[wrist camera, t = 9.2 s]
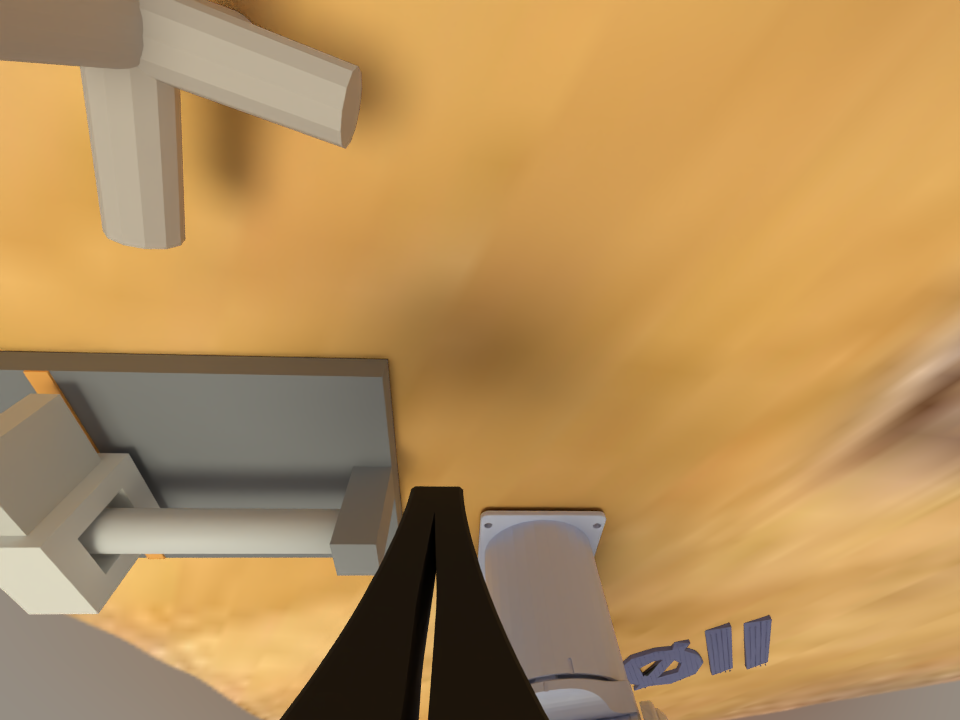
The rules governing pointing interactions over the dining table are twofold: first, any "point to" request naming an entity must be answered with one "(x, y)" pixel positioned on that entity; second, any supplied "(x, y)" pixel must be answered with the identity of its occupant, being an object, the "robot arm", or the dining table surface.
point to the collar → (59, 509)
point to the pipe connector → (173, 91)
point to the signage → (691, 660)
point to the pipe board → (234, 451)
